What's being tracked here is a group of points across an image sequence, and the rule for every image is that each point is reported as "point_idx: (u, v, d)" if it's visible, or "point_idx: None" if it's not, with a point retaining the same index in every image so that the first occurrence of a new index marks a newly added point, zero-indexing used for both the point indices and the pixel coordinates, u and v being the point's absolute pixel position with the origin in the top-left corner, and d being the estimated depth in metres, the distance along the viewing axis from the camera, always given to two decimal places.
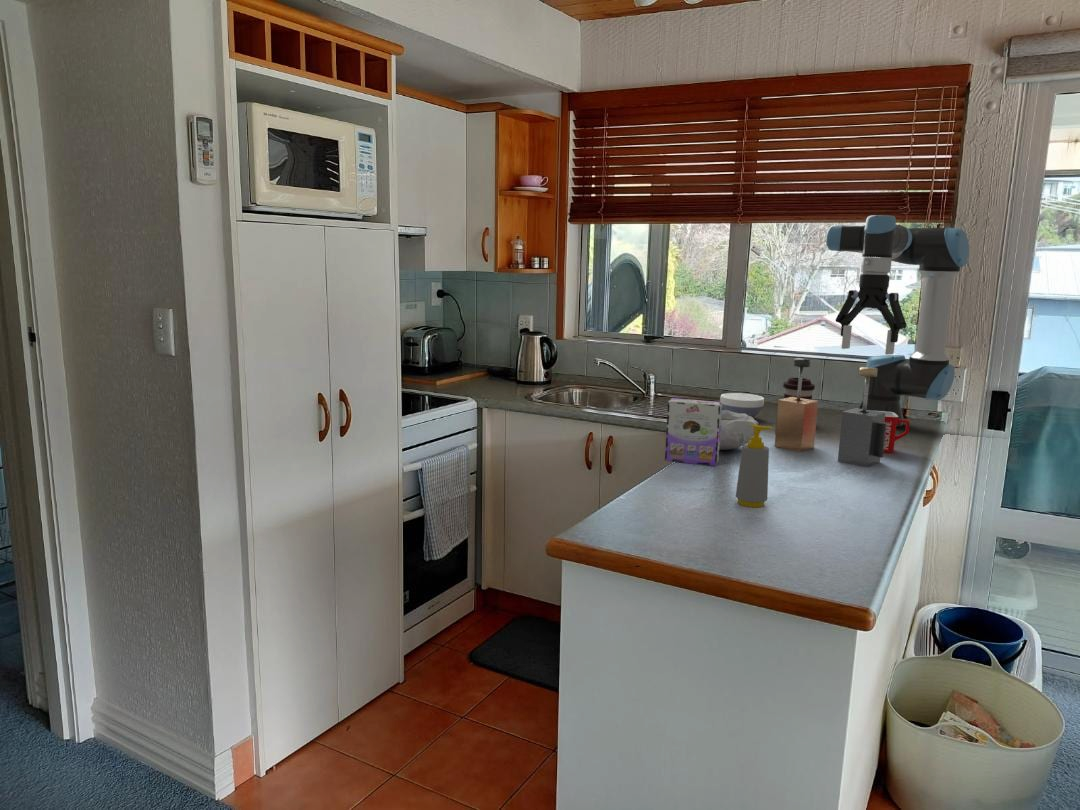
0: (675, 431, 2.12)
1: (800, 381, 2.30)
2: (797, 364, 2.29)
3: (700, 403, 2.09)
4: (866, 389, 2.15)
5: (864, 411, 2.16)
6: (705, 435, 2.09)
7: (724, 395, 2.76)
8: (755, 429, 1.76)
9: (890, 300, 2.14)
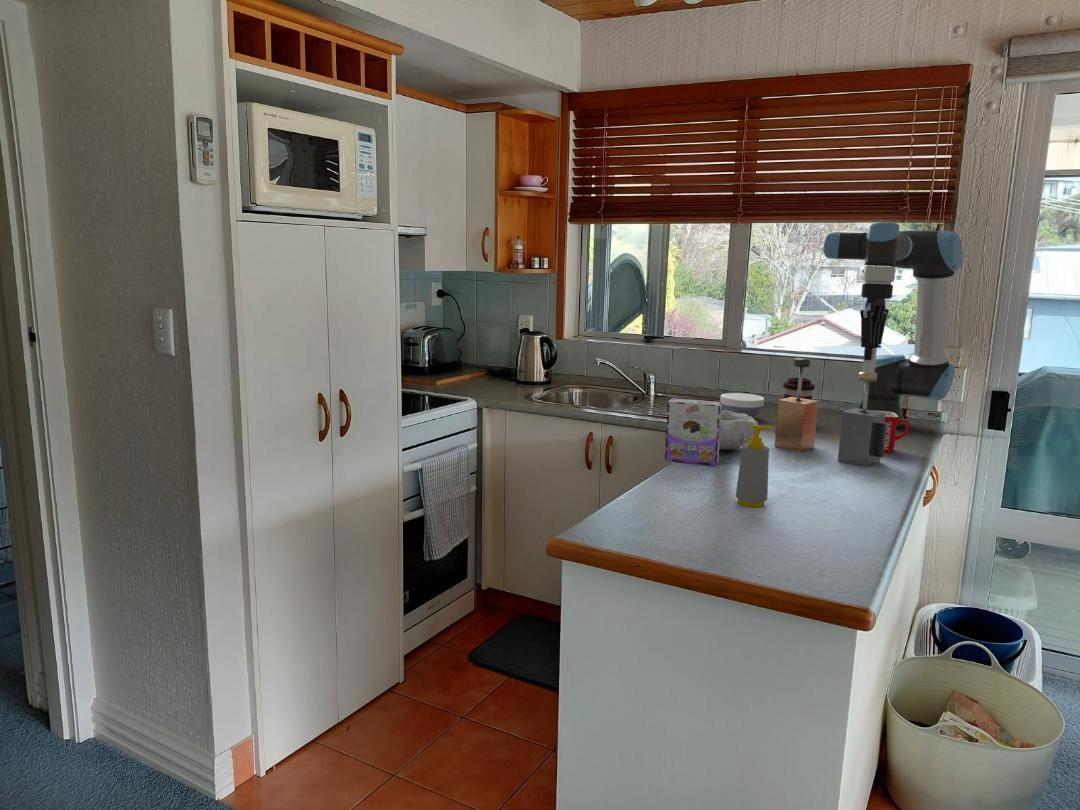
0: (675, 431, 2.12)
1: (800, 381, 2.30)
2: (797, 364, 2.29)
3: (700, 403, 2.09)
4: (865, 394, 2.15)
5: None
6: (705, 435, 2.09)
7: (724, 395, 2.76)
8: (755, 429, 1.76)
9: None
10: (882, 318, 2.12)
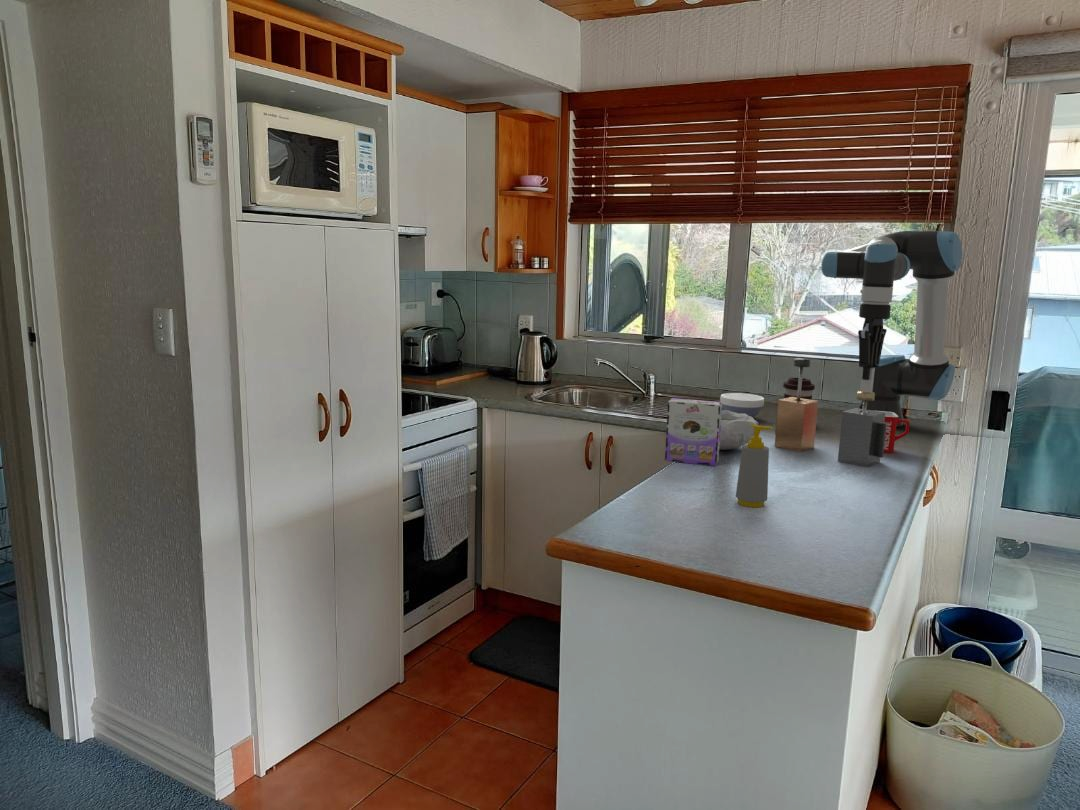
0: (675, 431, 2.12)
1: (800, 381, 2.30)
2: (797, 364, 2.29)
3: (700, 403, 2.09)
4: None
5: None
6: (705, 435, 2.09)
7: (724, 395, 2.76)
8: (755, 429, 1.76)
9: None
10: (880, 338, 2.13)
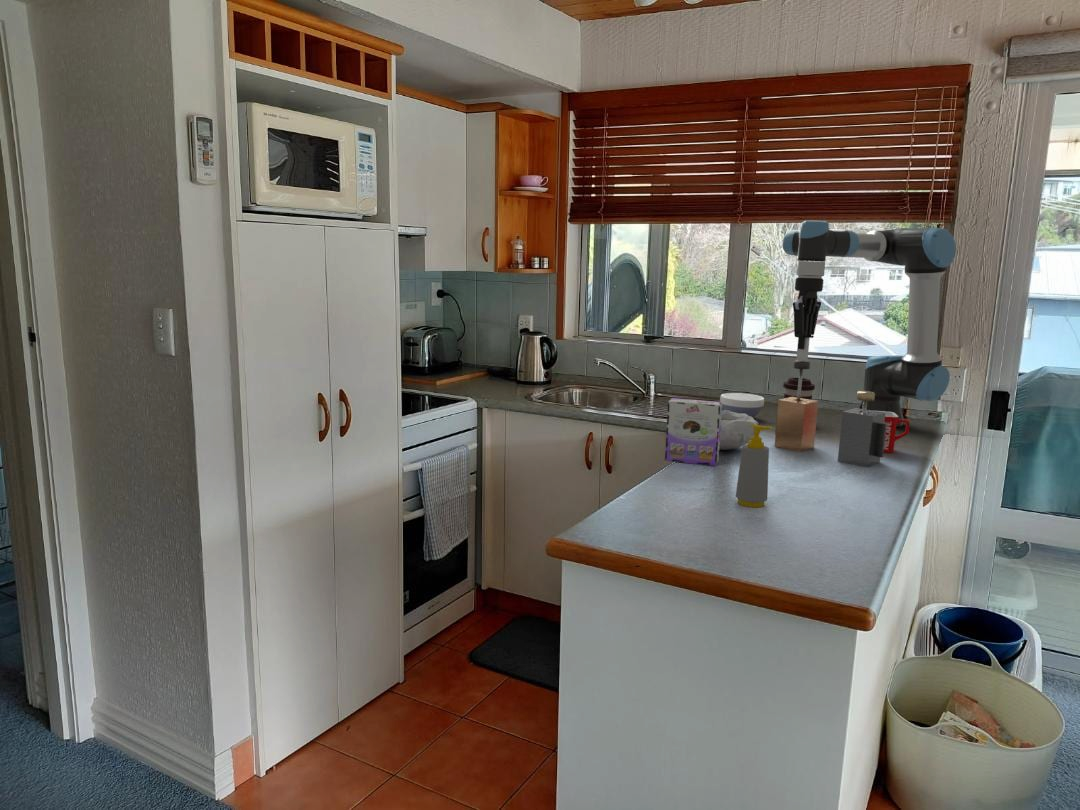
0: (675, 431, 2.12)
1: (800, 383, 2.31)
2: (797, 366, 2.29)
3: (700, 403, 2.09)
4: None
5: None
6: (705, 435, 2.09)
7: (724, 395, 2.76)
8: (755, 429, 1.76)
9: None
10: (814, 310, 2.27)
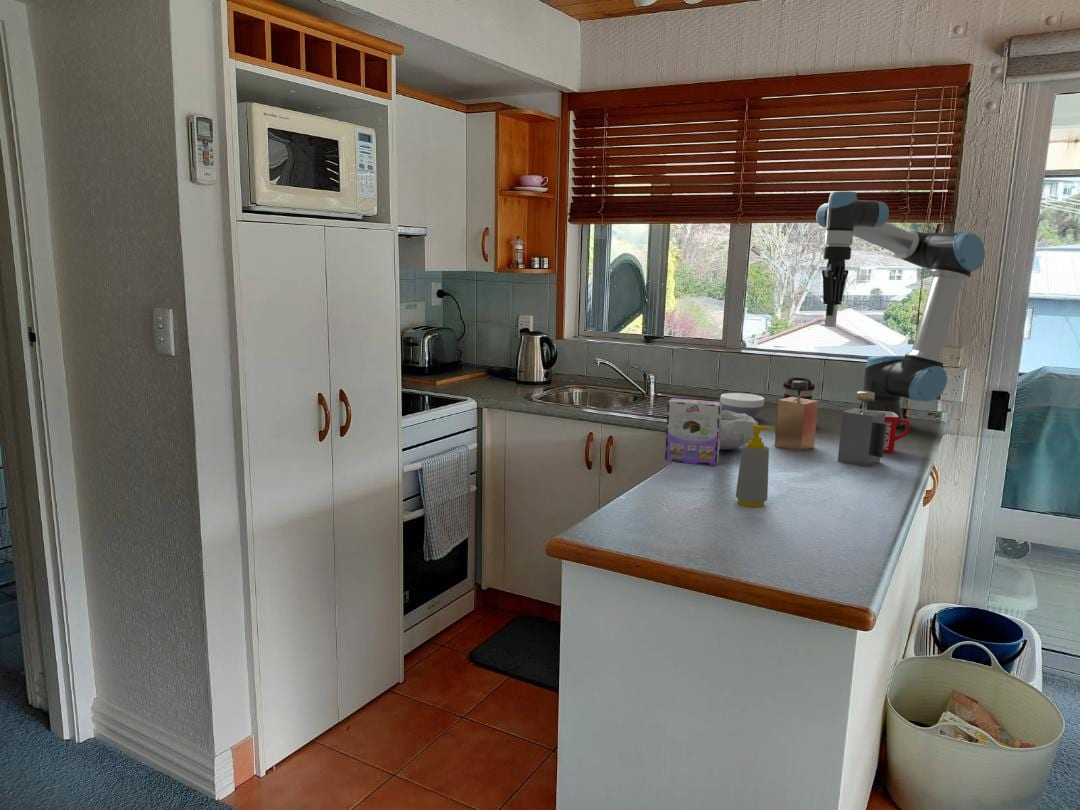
0: (675, 431, 2.12)
1: None
2: (795, 387, 2.30)
3: (700, 403, 2.09)
4: None
5: None
6: (705, 435, 2.09)
7: (724, 395, 2.76)
8: (755, 429, 1.76)
9: None
10: (842, 278, 2.36)
